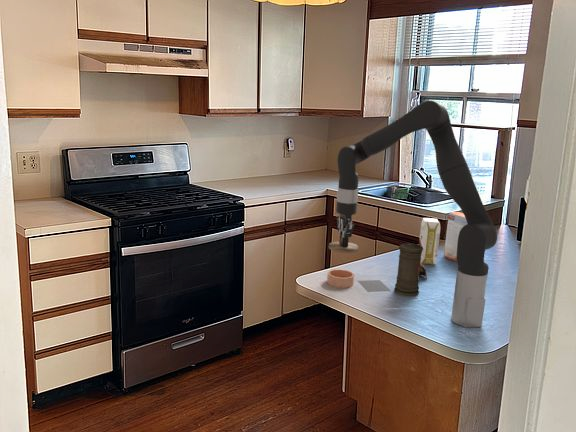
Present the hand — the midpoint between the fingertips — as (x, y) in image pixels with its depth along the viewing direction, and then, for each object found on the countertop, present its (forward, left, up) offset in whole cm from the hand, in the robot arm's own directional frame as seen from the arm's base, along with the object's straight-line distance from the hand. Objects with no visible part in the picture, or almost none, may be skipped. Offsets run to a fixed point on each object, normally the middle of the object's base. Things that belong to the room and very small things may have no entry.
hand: (343, 245), depth 199 cm
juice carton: (+23, -47, -15) cm, 54 cm away
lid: (0, 0, -1) cm, 1 cm away
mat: (-4, -12, -15) cm, 20 cm away
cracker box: (+24, -63, -15) cm, 69 cm away
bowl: (0, 0, -15) cm, 15 cm away
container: (-11, -22, -15) cm, 29 cm away
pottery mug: (+5, -32, -15) cm, 36 cm away
